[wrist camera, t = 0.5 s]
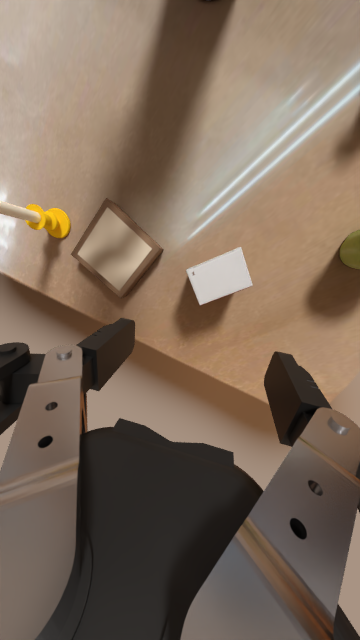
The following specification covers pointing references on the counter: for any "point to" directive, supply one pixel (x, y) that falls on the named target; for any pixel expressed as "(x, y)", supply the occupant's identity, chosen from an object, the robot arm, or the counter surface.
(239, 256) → the small box
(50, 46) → the counter surface
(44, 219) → the candle
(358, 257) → the plant pot
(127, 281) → the walnut picture frame
